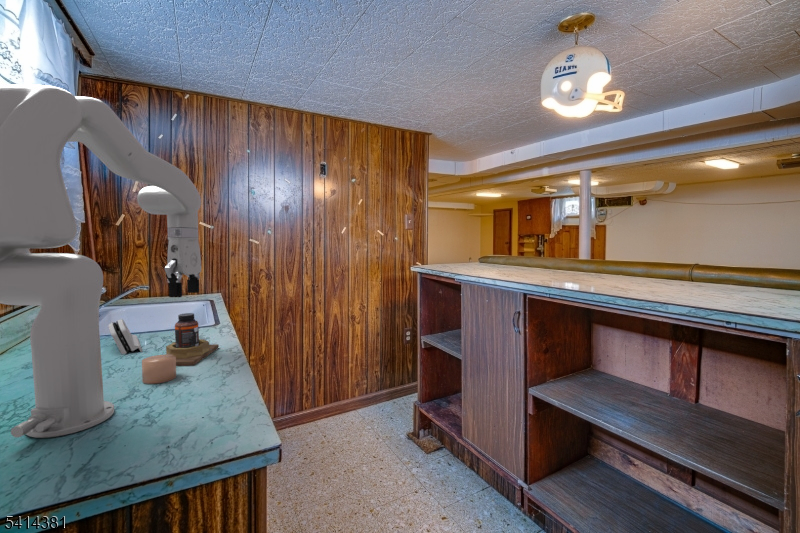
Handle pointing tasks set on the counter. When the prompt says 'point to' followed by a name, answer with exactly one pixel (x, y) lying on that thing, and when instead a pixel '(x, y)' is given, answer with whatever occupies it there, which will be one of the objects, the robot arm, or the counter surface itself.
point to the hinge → (124, 337)
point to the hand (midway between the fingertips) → (184, 294)
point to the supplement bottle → (186, 331)
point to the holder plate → (197, 358)
